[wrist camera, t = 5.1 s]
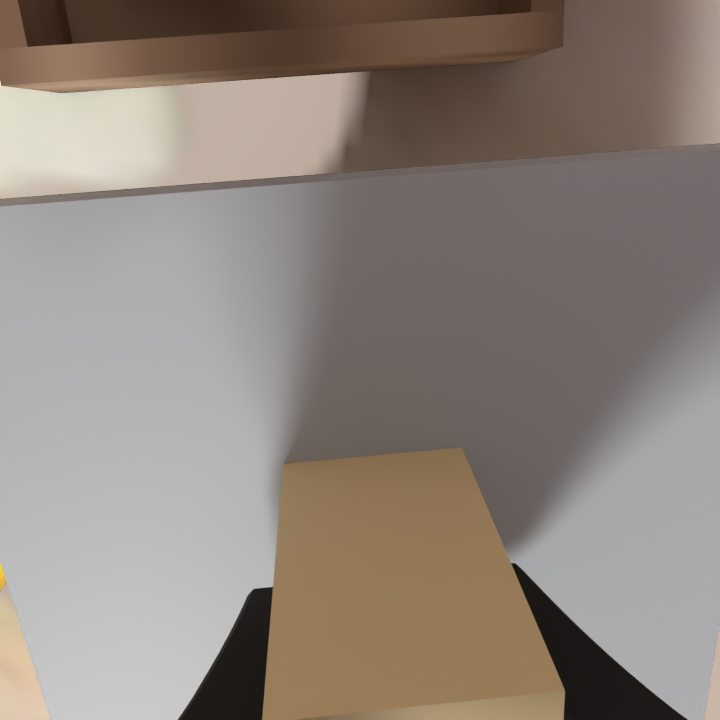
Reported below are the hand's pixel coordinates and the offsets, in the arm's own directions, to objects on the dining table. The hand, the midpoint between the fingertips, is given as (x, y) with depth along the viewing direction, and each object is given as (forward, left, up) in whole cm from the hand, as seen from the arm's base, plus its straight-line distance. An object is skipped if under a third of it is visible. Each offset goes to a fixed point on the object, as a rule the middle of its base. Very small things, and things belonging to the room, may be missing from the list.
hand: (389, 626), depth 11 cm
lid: (0, 0, -2) cm, 2 cm away
